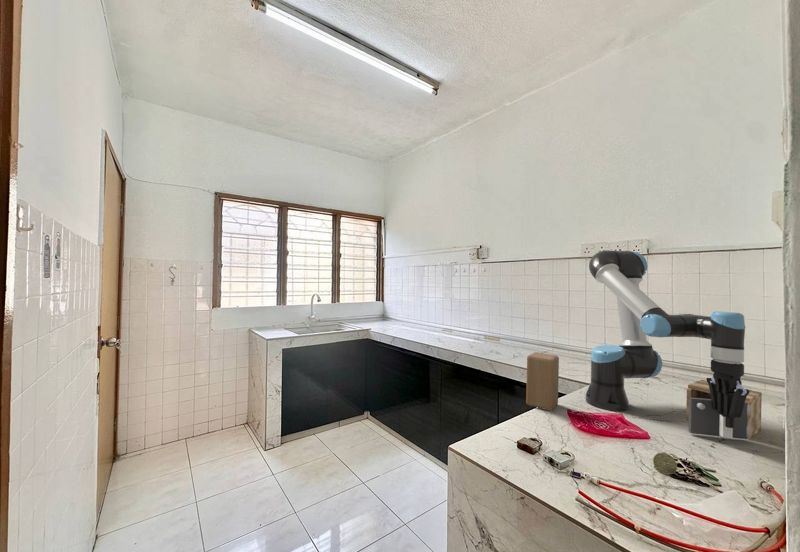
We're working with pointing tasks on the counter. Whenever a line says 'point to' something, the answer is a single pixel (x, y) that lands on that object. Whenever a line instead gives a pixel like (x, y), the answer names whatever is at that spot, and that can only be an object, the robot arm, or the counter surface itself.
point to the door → (714, 419)
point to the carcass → (753, 399)
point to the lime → (665, 463)
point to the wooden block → (542, 380)
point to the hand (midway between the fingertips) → (725, 436)
